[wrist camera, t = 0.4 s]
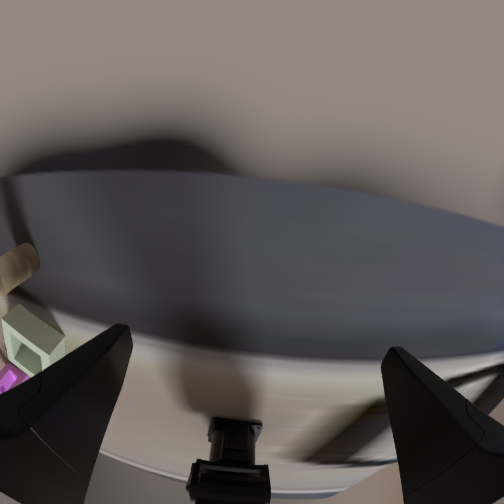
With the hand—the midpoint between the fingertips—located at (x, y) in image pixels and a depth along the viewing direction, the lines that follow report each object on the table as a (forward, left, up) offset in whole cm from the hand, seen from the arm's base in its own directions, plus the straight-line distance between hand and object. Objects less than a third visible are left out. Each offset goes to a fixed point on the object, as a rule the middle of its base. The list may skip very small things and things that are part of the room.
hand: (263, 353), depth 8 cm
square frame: (-20, +25, -14) cm, 35 cm away
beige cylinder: (-8, +24, -14) cm, 29 cm away
